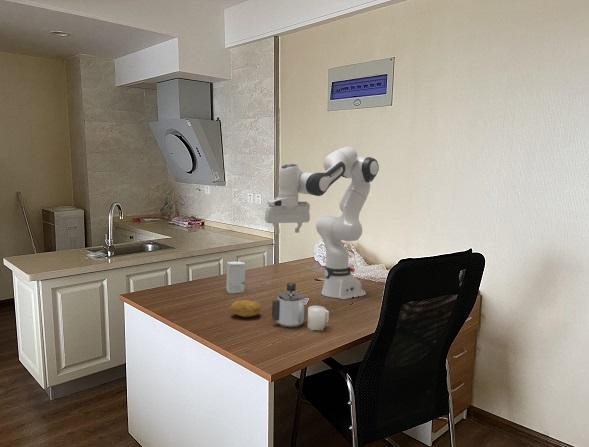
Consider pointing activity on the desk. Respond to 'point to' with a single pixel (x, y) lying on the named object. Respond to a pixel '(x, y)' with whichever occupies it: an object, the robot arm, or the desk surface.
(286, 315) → the carafe
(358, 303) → the desk surface
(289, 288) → the plunger
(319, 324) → the white ceramic cylinder
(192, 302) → the desk surface
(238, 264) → the skincare box
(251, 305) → the potato
